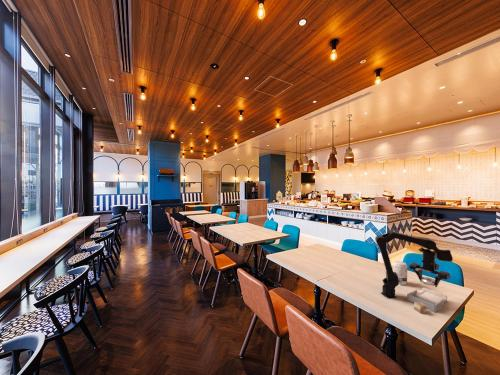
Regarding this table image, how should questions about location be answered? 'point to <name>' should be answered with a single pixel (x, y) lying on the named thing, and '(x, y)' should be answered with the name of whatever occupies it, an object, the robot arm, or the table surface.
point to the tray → (431, 295)
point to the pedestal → (420, 307)
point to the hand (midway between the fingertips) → (428, 284)
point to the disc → (428, 281)
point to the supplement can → (401, 272)
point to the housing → (425, 302)
